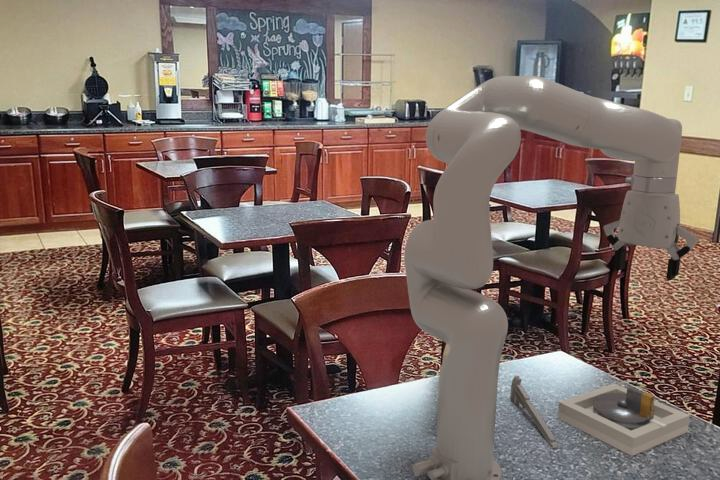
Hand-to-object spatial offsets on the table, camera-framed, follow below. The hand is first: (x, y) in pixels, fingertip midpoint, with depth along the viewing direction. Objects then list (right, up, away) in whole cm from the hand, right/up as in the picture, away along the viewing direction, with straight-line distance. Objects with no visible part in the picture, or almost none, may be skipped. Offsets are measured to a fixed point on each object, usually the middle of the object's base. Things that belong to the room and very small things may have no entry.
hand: (644, 274), depth 133 cm
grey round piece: (-4, -28, +1) cm, 28 cm away
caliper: (-21, -30, +3) cm, 36 cm away
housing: (-4, -30, +2) cm, 30 cm away
